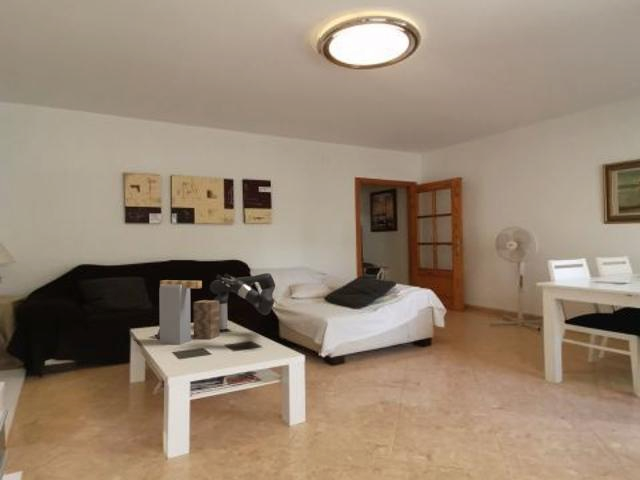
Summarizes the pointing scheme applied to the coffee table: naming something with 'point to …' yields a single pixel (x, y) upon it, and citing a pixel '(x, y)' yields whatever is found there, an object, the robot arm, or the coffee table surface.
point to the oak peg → (183, 283)
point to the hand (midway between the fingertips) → (220, 275)
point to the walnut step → (206, 319)
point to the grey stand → (174, 314)
